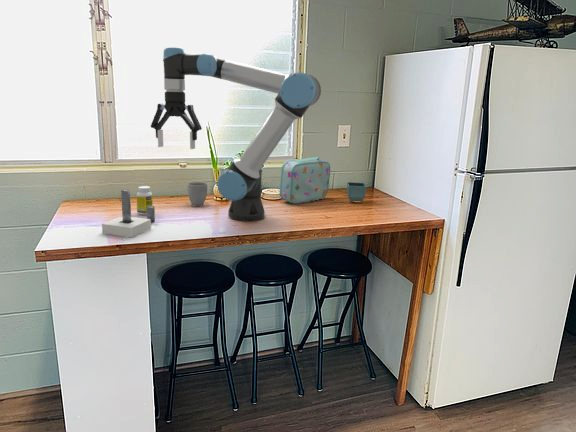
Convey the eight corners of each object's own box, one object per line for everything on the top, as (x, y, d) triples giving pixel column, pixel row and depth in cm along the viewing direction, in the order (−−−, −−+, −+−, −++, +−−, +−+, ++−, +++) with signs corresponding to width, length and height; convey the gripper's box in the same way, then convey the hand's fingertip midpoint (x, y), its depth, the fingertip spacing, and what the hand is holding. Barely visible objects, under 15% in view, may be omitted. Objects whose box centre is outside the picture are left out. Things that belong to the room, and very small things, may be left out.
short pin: (156, 221, 184) (155, 206, 183) (152, 223, 182) (151, 208, 180) (149, 220, 185) (149, 205, 184) (145, 222, 182) (144, 207, 181)
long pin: (133, 230, 172) (131, 190, 168) (128, 232, 169) (126, 191, 165) (126, 229, 172) (124, 189, 169) (121, 231, 170) (119, 190, 166)
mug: (210, 206, 211) (210, 185, 209) (191, 207, 207) (190, 186, 205) (201, 200, 221) (201, 180, 219) (183, 201, 217) (182, 181, 215)
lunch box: (315, 195, 242) (318, 154, 236) (330, 199, 234) (333, 156, 229) (276, 202, 224) (278, 157, 219) (291, 206, 217) (293, 160, 211)
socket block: (151, 228, 175) (150, 219, 174) (132, 237, 164) (131, 227, 163) (123, 224, 178) (122, 215, 177) (102, 233, 167) (101, 223, 166)
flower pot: (365, 204, 227) (367, 186, 225) (347, 203, 227) (348, 185, 225) (363, 200, 235) (364, 182, 233) (345, 199, 235) (346, 182, 233)
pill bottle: (148, 215, 192) (147, 189, 189) (134, 214, 193) (133, 187, 190) (155, 212, 197) (154, 186, 195) (141, 210, 199) (140, 185, 196)
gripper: (209, 92, 177) (210, 148, 183) (150, 90, 183) (152, 144, 189) (201, 92, 170) (202, 150, 176) (139, 90, 176) (142, 146, 182)
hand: (176, 147), depth 182 cm, fingers open, 13 cm apart
